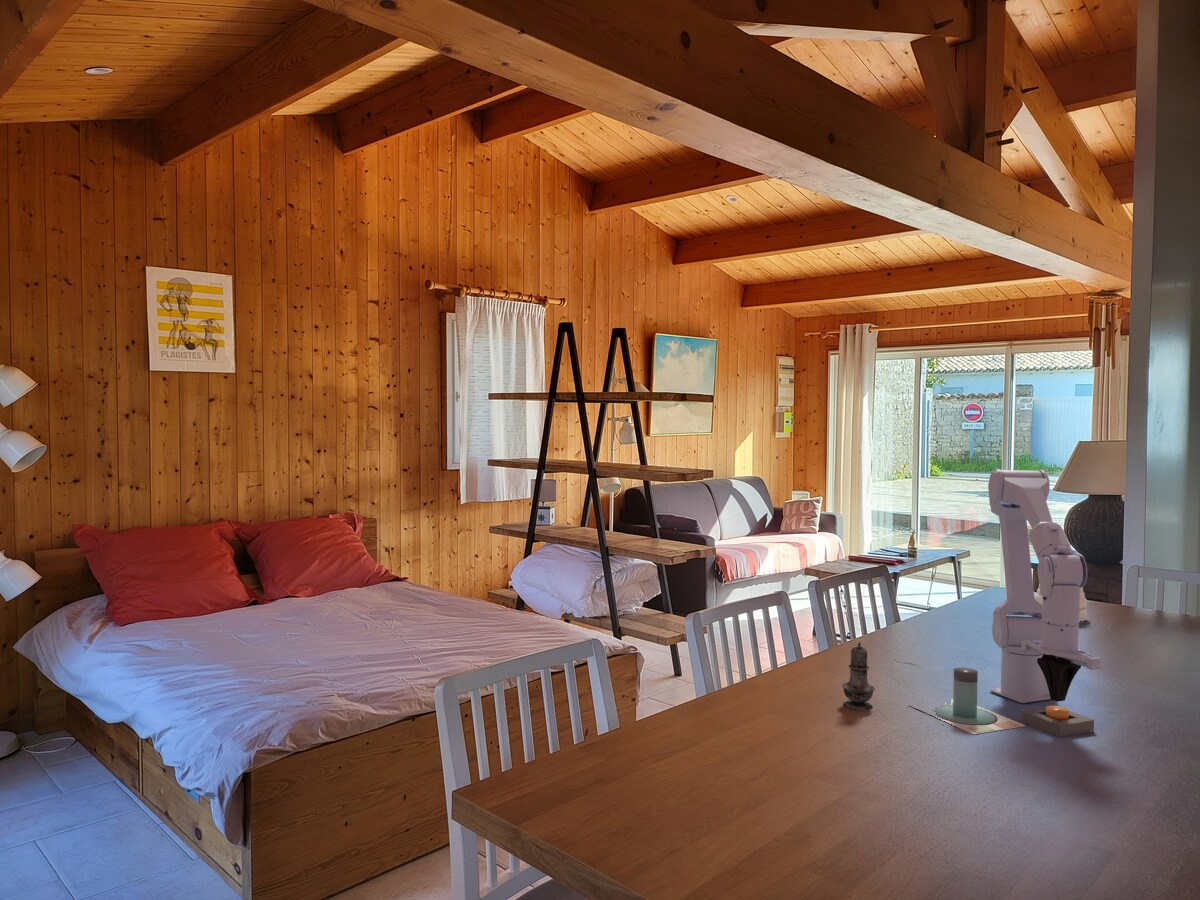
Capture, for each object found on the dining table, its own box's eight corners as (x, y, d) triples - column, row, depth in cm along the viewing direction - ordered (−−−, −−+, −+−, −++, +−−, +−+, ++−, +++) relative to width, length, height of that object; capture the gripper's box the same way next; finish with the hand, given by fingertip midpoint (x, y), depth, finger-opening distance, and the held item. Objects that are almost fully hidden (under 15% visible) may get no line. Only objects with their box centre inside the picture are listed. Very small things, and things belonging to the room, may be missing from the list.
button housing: (1054, 716, 158) (1054, 705, 158) (1093, 731, 150) (1094, 719, 150) (1021, 721, 155) (1021, 710, 155) (1059, 737, 147) (1060, 725, 147)
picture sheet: (957, 698, 167) (957, 697, 167) (1026, 726, 153) (1026, 725, 153) (907, 705, 163) (907, 704, 163) (973, 734, 148) (973, 733, 148)
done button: (1055, 713, 155) (1056, 704, 155) (1073, 720, 152) (1074, 711, 152) (1040, 715, 154) (1041, 706, 154) (1058, 722, 150) (1058, 713, 150)
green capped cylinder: (964, 709, 160) (965, 666, 160) (981, 716, 157) (982, 672, 156) (947, 712, 159) (948, 668, 159) (964, 719, 155) (965, 674, 155)
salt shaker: (876, 712, 159) (877, 647, 158) (842, 709, 160) (844, 645, 160) (872, 702, 165) (874, 639, 164) (840, 699, 166) (841, 637, 165)
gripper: (1009, 615, 157) (1007, 690, 158) (1080, 634, 144) (1077, 715, 144) (1038, 612, 160) (1036, 686, 160) (1110, 630, 146) (1108, 710, 147)
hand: (1057, 699), depth 152 cm, fingers closed
